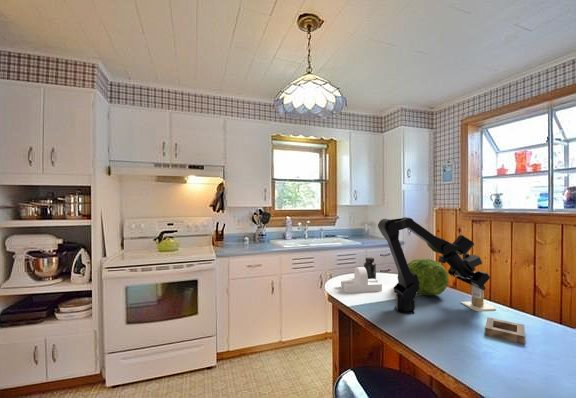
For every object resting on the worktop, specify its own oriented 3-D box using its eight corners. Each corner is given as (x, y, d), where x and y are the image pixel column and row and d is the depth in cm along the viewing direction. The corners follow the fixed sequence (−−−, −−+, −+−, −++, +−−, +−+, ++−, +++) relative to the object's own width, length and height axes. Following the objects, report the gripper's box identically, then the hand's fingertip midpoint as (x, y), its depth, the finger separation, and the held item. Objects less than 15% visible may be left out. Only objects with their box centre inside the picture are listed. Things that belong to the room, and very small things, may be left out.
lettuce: (422, 285, 156) (413, 253, 158) (460, 291, 134) (449, 255, 136) (396, 295, 150) (387, 263, 152) (432, 303, 128) (421, 265, 130)
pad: (475, 311, 120) (475, 309, 120) (460, 303, 129) (460, 301, 129) (496, 310, 120) (496, 308, 120) (479, 302, 129) (479, 300, 129)
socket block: (485, 334, 99) (485, 327, 99) (487, 323, 108) (487, 317, 108) (525, 344, 93) (525, 336, 93) (524, 331, 101) (524, 324, 101)
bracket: (345, 293, 144) (345, 270, 144) (340, 287, 154) (340, 265, 154) (382, 291, 146) (382, 269, 146) (375, 285, 156) (375, 264, 156)
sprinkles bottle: (486, 305, 124) (486, 273, 123) (479, 307, 121) (479, 275, 121) (475, 301, 128) (475, 271, 127) (468, 303, 126) (468, 272, 125)
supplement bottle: (376, 280, 164) (376, 259, 164) (364, 280, 165) (363, 259, 165) (375, 277, 171) (375, 257, 170) (363, 276, 172) (363, 256, 172)
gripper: (485, 253, 115) (511, 280, 116) (454, 245, 133) (476, 268, 134) (467, 273, 114) (493, 300, 115) (438, 262, 132) (460, 286, 134)
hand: (480, 287), depth 125 cm, fingers closed on sprinkles bottle, 4 cm apart
